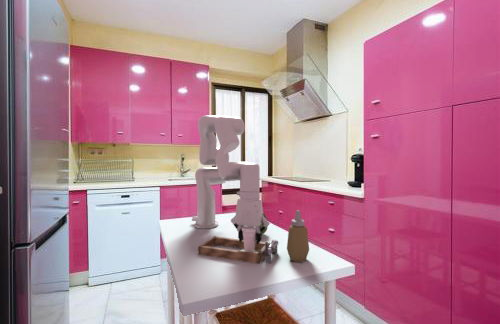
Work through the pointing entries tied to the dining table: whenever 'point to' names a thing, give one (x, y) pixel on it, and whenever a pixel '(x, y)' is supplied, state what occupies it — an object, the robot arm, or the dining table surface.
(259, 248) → the bay
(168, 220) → the dining table surface
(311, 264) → the dining table surface
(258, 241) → the robot arm
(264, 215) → the avocado
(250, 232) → the smoothie
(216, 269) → the dining table surface
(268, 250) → the grey metal handle
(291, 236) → the squeeze bottle
